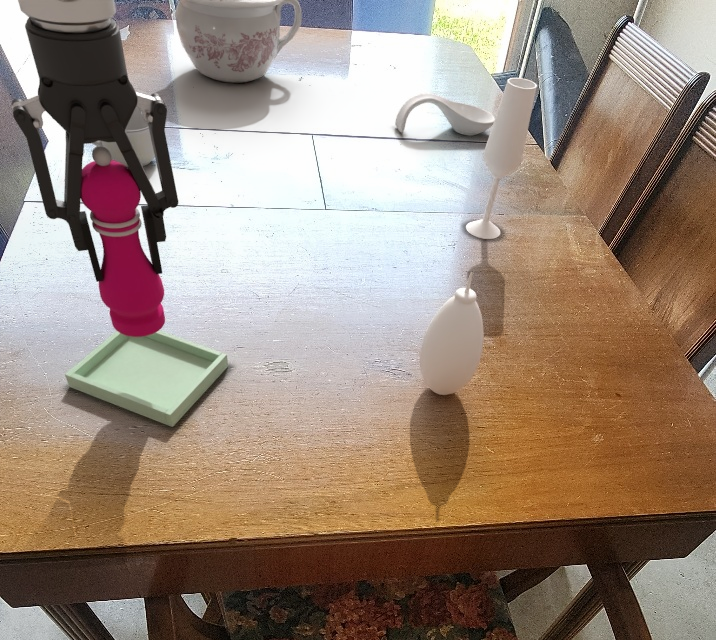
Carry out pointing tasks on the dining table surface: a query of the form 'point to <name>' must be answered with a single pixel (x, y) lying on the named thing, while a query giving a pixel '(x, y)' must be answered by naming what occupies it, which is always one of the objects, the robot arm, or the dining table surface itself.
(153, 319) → the pepper mill
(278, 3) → the chamber pot
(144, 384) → the tray
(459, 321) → the sauce bottle
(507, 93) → the champagne flute
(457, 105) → the spoon rest
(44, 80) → the robot arm
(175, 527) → the dining table surface
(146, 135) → the teacup
